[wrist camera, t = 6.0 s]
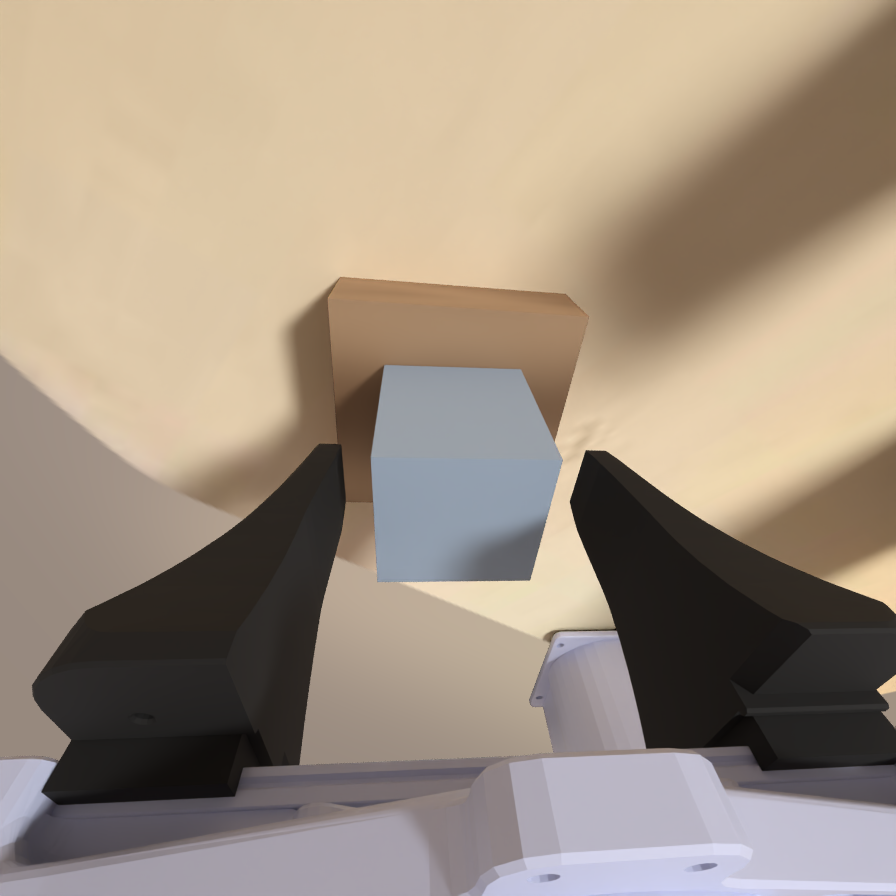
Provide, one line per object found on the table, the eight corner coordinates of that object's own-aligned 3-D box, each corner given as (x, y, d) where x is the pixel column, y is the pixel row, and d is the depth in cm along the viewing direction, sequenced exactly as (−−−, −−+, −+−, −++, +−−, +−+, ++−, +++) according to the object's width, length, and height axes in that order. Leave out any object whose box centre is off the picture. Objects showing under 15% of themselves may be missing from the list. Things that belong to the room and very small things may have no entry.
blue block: (502, 474, 17) (529, 580, 13) (387, 473, 16) (377, 582, 12) (521, 369, 14) (562, 459, 10) (384, 364, 14) (370, 457, 10)
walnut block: (522, 463, 20) (536, 506, 18) (351, 457, 20) (341, 501, 17) (562, 290, 16) (589, 317, 13) (342, 273, 15) (327, 298, 13)
